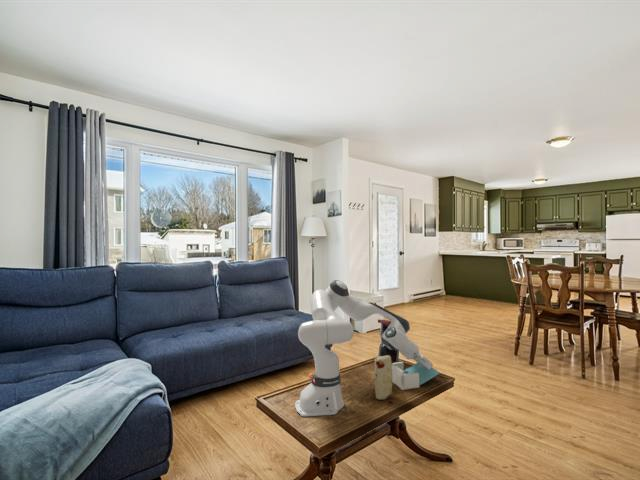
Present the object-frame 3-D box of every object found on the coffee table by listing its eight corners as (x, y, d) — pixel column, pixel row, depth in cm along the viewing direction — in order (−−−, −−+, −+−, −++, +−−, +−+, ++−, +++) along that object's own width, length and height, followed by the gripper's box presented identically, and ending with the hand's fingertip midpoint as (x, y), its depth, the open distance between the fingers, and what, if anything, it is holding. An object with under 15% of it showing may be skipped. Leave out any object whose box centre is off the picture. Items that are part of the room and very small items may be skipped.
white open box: (402, 389, 164) (401, 371, 165) (386, 376, 181) (386, 360, 181) (419, 387, 167) (418, 369, 167) (402, 374, 183) (402, 358, 183)
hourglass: (387, 361, 205) (390, 320, 209) (407, 367, 191) (410, 323, 196) (368, 361, 196) (372, 318, 200) (387, 368, 183) (391, 322, 187)
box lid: (419, 382, 167) (438, 371, 170) (403, 370, 183) (421, 360, 186) (421, 386, 167) (440, 375, 170) (404, 373, 183) (422, 363, 186)
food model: (380, 403, 152) (379, 359, 152) (371, 397, 157) (370, 355, 158) (396, 397, 157) (395, 355, 157) (387, 392, 162) (385, 351, 163)
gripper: (424, 352, 166) (442, 368, 168) (404, 340, 186) (420, 355, 188) (416, 362, 165) (434, 378, 167) (397, 349, 185) (413, 364, 187)
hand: (427, 366), depth 178 cm, fingers closed, pressing on box lid
